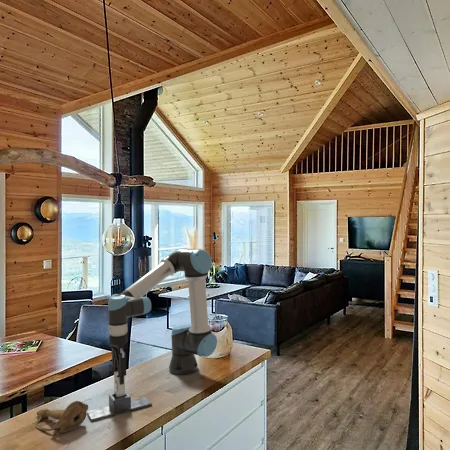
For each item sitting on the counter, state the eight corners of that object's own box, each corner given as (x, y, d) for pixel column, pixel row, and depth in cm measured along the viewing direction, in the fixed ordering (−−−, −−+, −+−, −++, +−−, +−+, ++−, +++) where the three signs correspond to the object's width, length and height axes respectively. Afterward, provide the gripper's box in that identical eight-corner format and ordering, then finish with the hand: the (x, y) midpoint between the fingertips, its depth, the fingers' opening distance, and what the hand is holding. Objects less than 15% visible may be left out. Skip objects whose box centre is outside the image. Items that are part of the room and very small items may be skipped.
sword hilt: (54, 425, 146) (85, 395, 158) (15, 409, 159) (46, 382, 171) (64, 445, 150) (93, 414, 161) (24, 428, 162) (54, 401, 174)
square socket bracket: (145, 398, 180) (145, 385, 180) (151, 405, 174) (151, 391, 174) (87, 413, 167) (86, 399, 167) (91, 421, 161) (91, 406, 161)
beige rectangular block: (122, 402, 173) (122, 379, 173) (125, 406, 170) (124, 382, 170) (114, 405, 171) (113, 381, 171) (117, 408, 168) (116, 384, 168)
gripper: (103, 330, 176) (105, 384, 176) (115, 340, 161) (116, 399, 161) (120, 327, 180) (122, 380, 180) (133, 337, 165) (135, 394, 165)
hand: (119, 389), depth 170 cm, fingers open, 4 cm apart
